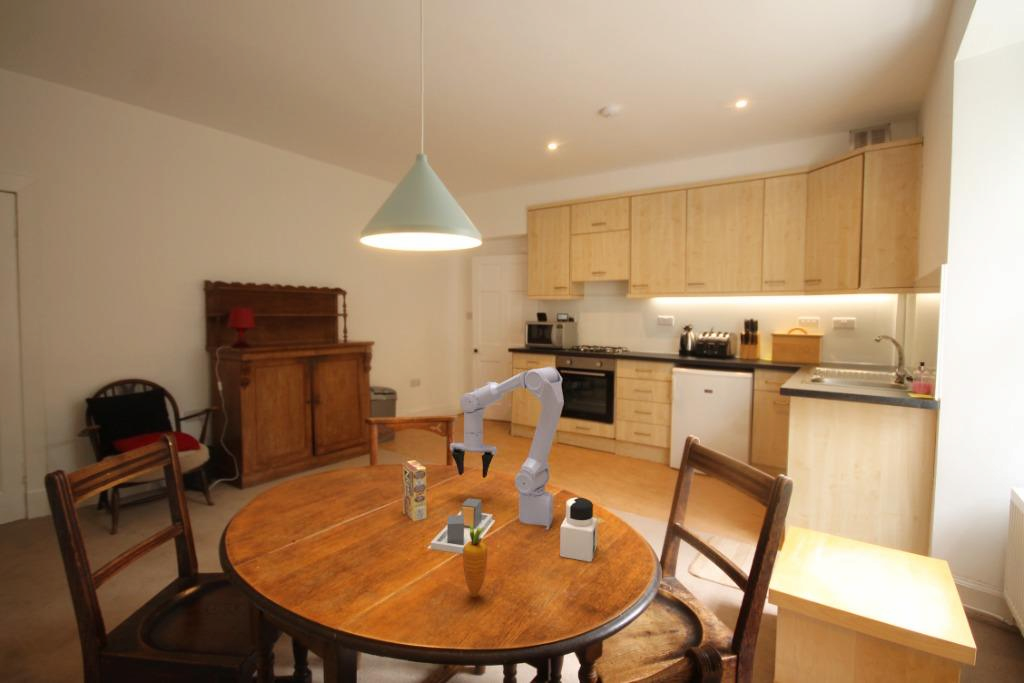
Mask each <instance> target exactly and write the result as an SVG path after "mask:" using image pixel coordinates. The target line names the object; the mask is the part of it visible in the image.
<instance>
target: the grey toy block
mask: <svg viewBox="0 0 1024 683" xmlns="http://www.w3.org/2000/svg"><path fill="white" fill-rule="evenodd" d="M482 502H483V501H482V499H478V498H470V497H467V499H466V500H465V501H464V502H462V504H461V508H460V509H461V510H460V511H461V515H464V527H466V528H470V525H472V524H473V527H474V529H475V528H476V527H477V526H478V525H479V524H480V522H481V519H482V513H483V512H482V511H483V510H482V509H483V508H482V506H483V505H482V504H483V503H482Z"/></svg>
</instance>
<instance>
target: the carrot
mask: <svg viewBox="0 0 1024 683" xmlns="http://www.w3.org/2000/svg"><path fill="white" fill-rule="evenodd" d="M483 530H484V528H483V527H482V528H477V530H476V533H475V535H474V527H473V524H472V525H470V537H471V540H472V541H469V542H468V543H467V544H466V545H465V546H464V548H463V554H462V559H463V560H462V562H463V563H462V564H463V574H464V579H465V582H466V586H467V589H468V591H469V593H470V594H471V596H472V597H473V598H476V597H478V595H479V593H480V591H481V589H482V587H483V585H484V582H485V578H486V573H487V564H488V547H487V545H486V544H485V542H483V538H481V537H480V538H479V535H480V534H481V532H482V531H483ZM478 538H479V539H478Z"/></svg>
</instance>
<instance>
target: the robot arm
mask: <svg viewBox="0 0 1024 683" xmlns="http://www.w3.org/2000/svg"><path fill="white" fill-rule="evenodd" d="M562 383H563V377H562V376H561V374H560V372H559V371H558V369H556V368H555V367H554V366H545V367H542V368H541V367H540V368H532V369H530V370H526V371H523V372H520V373H517V374H516V375H514V376H512V377H510V378H508V379H506V380H504V381H502V382H500V383H498V382H495V381H493V382H492V381H488V382H485V385H484V386H482V387H477V388H476V387H475V388H474V391H472V392H465V393H464V394H462V395H461V398H460V407H461V409H462V410H463V442H452V443H450V444H449V451H452V453H451V456H452V458H453V460H454V462H455V464H456V467H457V471H458V475H460V476H462V475H463V474H464V472H465V468H464V467H465V463H464V461H465V454H466V452H467V453H468V452H469V453H480V454H481V453H482V455H481V461H482V462H481V463H482V478H484V479H485V478H486V477H487V475H488V472H489V468H490V465H491V462H492V459H493V458H494V456H496V455H497V453H498V446H494V445H488V444H484V438H483V437H484V413H485V408H486V407H488V406H490V405H493V404H495V403H497V402H499V401H502V399H503V397H504V395H505V394H507V393H509V392H513V391H515V390H517V389H520V388H522V389H527V390H528V391H529V392H530V393H531V394H532V395H533V396H535V398H537V400H539V402H540V404H541V405H542V407H541V410H540V415H539V418H538V421H537V425H536V428H535V432H534V435H533V439H532V442H531V446H530V449H529V453H528V456H527V458H526V460H525V461H524V462H523V463H522V465H521V467H520V470H519V471H518V473H516V475H515V476H514V477H515V478H514V485H515V488H516V490H517V491H518V494H519V496H518V520H519V521H520V522H521V523H523V524H525V525H537V526H539V525H540V526H546V528H545V529H544V530H545V531H549V529H550V526H551V524H552V523H553V519H554V495H553V493H552V492H548V491H546V485H547V484H548V483H549V481H550V466H551V465H550V463H549V462H548V459H549V456H550V453H551V449H552V446H553V443H554V439H555V435H556V432H557V428H558V424H559V422H560V419H561V415H562V410H563V407H564V404H565V402H564V394H563V389H562V387H563V386H562Z"/></svg>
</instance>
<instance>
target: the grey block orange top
mask: <svg viewBox="0 0 1024 683" xmlns="http://www.w3.org/2000/svg"><path fill="white" fill-rule="evenodd" d="M447 525H448V526H447ZM447 525H446V526H447V543H451V544H457V545H464V515H457V514H452V515H448V514H447Z"/></svg>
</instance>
